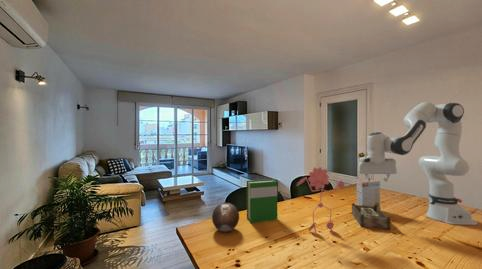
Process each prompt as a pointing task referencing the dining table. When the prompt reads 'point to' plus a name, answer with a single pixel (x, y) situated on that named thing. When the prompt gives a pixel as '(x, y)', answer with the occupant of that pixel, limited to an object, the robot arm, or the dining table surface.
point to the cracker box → (368, 193)
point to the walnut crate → (371, 222)
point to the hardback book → (261, 200)
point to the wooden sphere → (225, 217)
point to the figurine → (319, 180)
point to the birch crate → (369, 212)
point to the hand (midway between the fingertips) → (377, 181)
